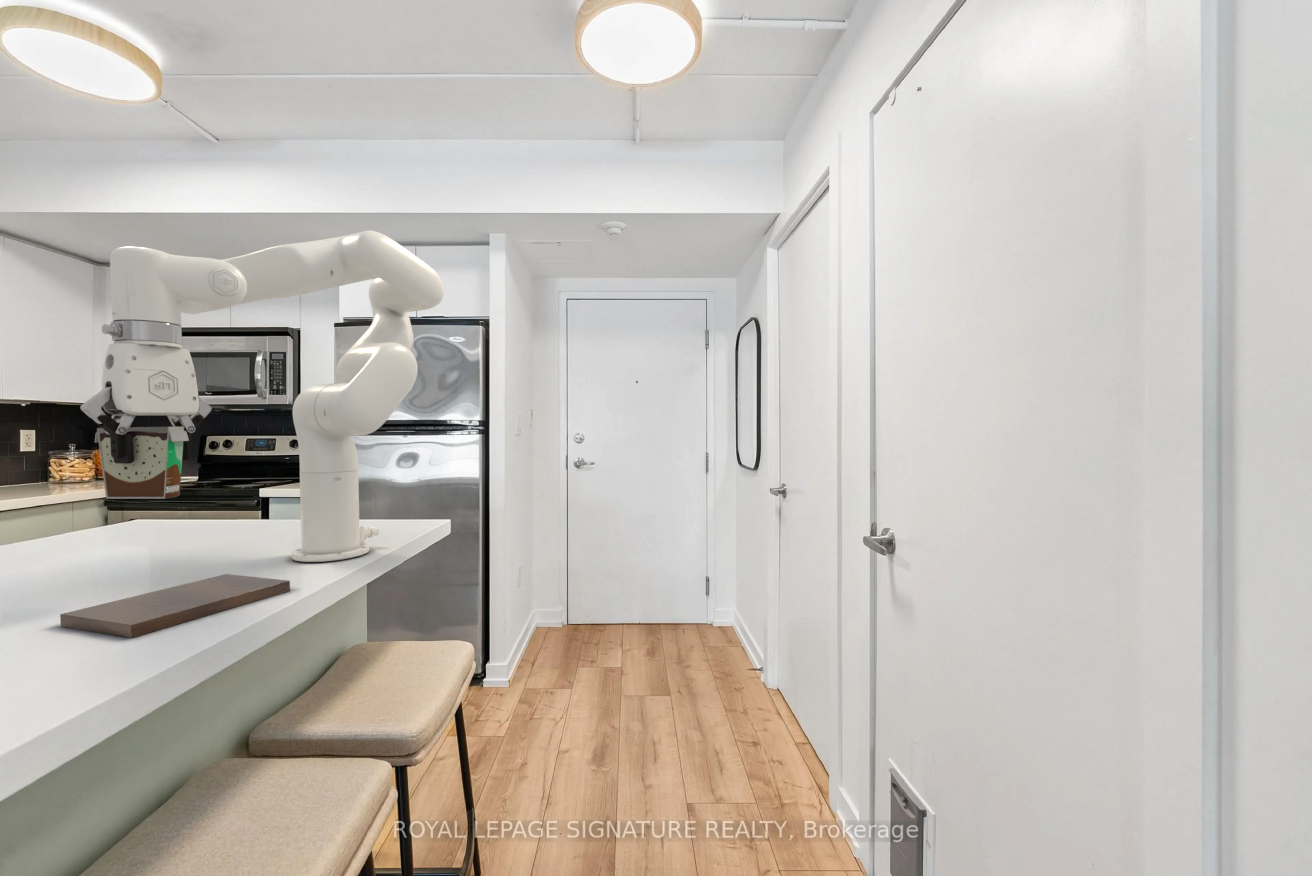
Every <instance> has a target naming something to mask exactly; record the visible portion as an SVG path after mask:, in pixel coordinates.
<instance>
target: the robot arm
mask: <svg viewBox="0 0 1312 876" xmlns="http://www.w3.org/2000/svg"><path fill="white" fill-rule="evenodd" d="M109 269H110V291H111V293H110V294H111V313H112V314H111V315H112V316H111V317H112V321H111V322H110V323H109V324H105V323H104V324H103V325H102V327H101V332H102V334H103V335H109V336H111V341H113V343H109V344H108V346H107V349H106V352H105V357H104V363H103V370H102V382H101V391H99V392H97V393H96V394H94V395H93V396H92V397H91V398H89V399H88V400H86V401H85V402H84V403H82V404H81V405H80V406H79V408H80V411H81V412H83V413H84V414H85V415H86V416H87V417H88V418H90V419H91V420H93V422H94V423H95V424H96V425H97V426H99V428H102V429H104V430H105V432H106V434H109V435H110V444H111V456H112V457H113V458H114V463H123V464H128V463H132V462H133V461H134V458H133V437H132V435H128V429H129V428H130V427H131V426H132V423H133V422H134V420H135V418H136V416H140V417H141V416H146V417H147V416H149V417H150V416H155V417H156V416H157V417H158V416H160V417H161V416H166V417H167V418H168V420H169V422H170V423H171V427H184V431H186V432H187V436H188V439H189V441H183V454H182V461H188V460H191V457H192V455H191V454H192V452H193V450H192V449H193V445H192V434H193V433H195V432H196V428H197V427H198V426H199V425H201V423H202V422H203V421H204V419H205V418H206V417H207V416H208V415H209V414H210V413H211V412H212V406H211V405H209V403H207V402H206V401H205V400H204V399H202V398H201V397H200V396H199V389H198V382H197V377H196V371H195V366H194V362H193V359H192V356H191V353H190V350H189V349H188V348H183V337H182V336H183V332H182V313H183V314H189V315H195V314H202V313H207V312H211V311H212V312H214V311H218V310H225V309H228V308H231V307H234V306H237V305H242V304H246V303H252V302H259V301H264V300H274V299H285V298H290V297H291V298H292V297H295V296H300V295H305V294H310V293H314V292H320V291H324V290H327V289H332V288H339V287H342V286H346V285H351V284H356V283H359V282H364V281H369V280H372V281H371V282H370V285H369V289H368V298H369V303H370V307H371V310H372V321H371V324H370V325H369V327H368V328H367V330H366V331H365V332H364V333H363V334H362V335H361V336H360V337H359V339H357V340H356V342H354V344H353V345H352V346H351V347H350V348H349V349H348V350H347V351H345V353H344V354H343V356H341V358H340V359H339V360H338V363H337V364H336V368H335V369H336V370H335V376H336V380H337V382H338V383H337V382H335V383H321V384H315V385H312V386H309V387H307V388H306V389H304V390H302V391H301V392H300V393H299V394H298V395H297V397H296V398H295V400H294V402H293V404H292V422H293V426H294V429H295V434H296V438H297V445H298V456H299V458H298V459H299V496H300V497H299V501H300V504H299V505H300V507H299V508H300V545H301V546H300V548H296V549H295V550H293V551H292V552H291V559H292V560H293V561H295V562H301V563H322V562H324V563H325V562H333V561H334V562H335V561H340V560H346V559H348V560H349V559H351V558H357V557H360V556H364V555H366V554H367V553H369V551H370V545H369V544H368V543H365V540H367V538H374V537H377V536H379V533H380V532H379V528H378V527H377V526H375V525H374V526H370V527H369V526H368V527H366V528H365V527H364V526H360V491H359V490H360V489H359V488H360V487H359V456H358V455H359V454H358V451H357V448H356V444H355V441H354V438H353V437H358V436H359V437H362V436H366V435H370V434H372V433H374V432H376V431H378V430H379V429H380V428H381V427H382V426H383V425H384V424H385V423H386V422H387V421H388V419H389V418H390V417H391V415H392V414H393V413H394V412H395V410H396V409H397V408H398V407H399V406H400V404H401V403H402V402H403V400H404V399H405V398H406V397H407V395H408V394H409V393H410V391H411V390H412V388H413V387H414V385H415V383H416V381H417V377H418V369H419V368H418V361H417V359H416V356H415V354H414V353H413V352H412V351H411V349H412V346H413V343H414V332H413V327H412V323H411V319H410V318H411V317H410V315H409V313H412V312H419V311H427V310H431V309H433V308H436V307H437V306H438V305H439V304H440V303H441V301H443V298H444V295H445V294H444V293H445V287H444V283H443V280H442V278H441V277H440V275H439V274H438V273H437V271H436V270H435V269H434V268H432V267H431V266H430V265H429V264H428V263H426V262H425V261H423V260H422V259H421V258H419V257H418V255H416V254H414V253H413V252H412V251H410V250H409V249H407V248H406V247H404V246H403V245H402V244H400V243H399V242H397V241H396V240H394V239H392V238H391V237H389V236H387V235H385V234H384V233H381V232H379V231H375V230H363V231H360V232H354V233H351V234H345V235H342V236H341V235H340V236H336V237H329V238H323V239H315V240H308V241H302V242H295V243H294V242H293V243H285V244H280V245H275V246H272V247H271V246H270V247H267V248H264V249H261V250H257V251H254V252H251V253H247V254H243V255H239V256H235V257H234V256H233V257H229V258H224V259H218V258H212V257H200V256H188V255H187V256H186V255H177V254H171V253H168V252H165V251H162V250H158V249H155V248H148V247H142V246H120V247H117V248H115V249H113V250H112V252H111V253H110V256H109ZM102 408H103V409H102ZM108 414H110V415H111V416H110V415H108Z"/></svg>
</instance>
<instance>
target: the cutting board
mask: <svg viewBox="0 0 1312 876" xmlns="http://www.w3.org/2000/svg"><path fill="white" fill-rule="evenodd" d="M290 591H291V581H290V580H289V579H288V580H287V579H280V578H279V579H277V578H270V577H269V578H268V577H258V576H250V575H249V576H248V575H242V574H241V575H240V574H231V573H224V574H220V575H217V576H216V575H215V576H212V577H209V578H204V579H199V580H196V581H192V582H187V583H184V584H179V585H175V586H171V587H167V588H162V589H159V590H155V591H150V592H146V593H142V594H138V595H133V596H130V597H126V598H121V599H117V600H113V601H109V602H104V603H101V604H96V605H92V606H88V607H84V608H80V609H76V610H71V611H68V612H64V613H60V616H59V619H60V622H59V623H60V627H63V628H70V629H75V630H81V631H86V632H87V631H88V632H93V633H99V634H105V635H111V636H118V637H124V638H136V637H139V636H143V635H146V634H149V633H152V632H153V633H154V632H157V631H160V630H163V629H167V628H171V627H173V626H176V625H180V624H183V623H186V622H190V621H193V620H196V619H200V618H204V617H206V616H209V615H213V614H217V613H220V612H224V611H226V610H231V609H233V608H236V607H241V606H244V605H246V604H250V603H253V602H257V601H259V600H260V601H261V600H263V599H266V598H271V597H273V596H277V595H280V594H284V593H286V592H290Z"/></svg>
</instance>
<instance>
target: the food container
mask: <svg viewBox="0 0 1312 876" xmlns="http://www.w3.org/2000/svg"><path fill="white" fill-rule="evenodd" d="M128 435H132V437H133V458H134V461H133V462H132V463H128V464H123V463H114V458H113V457H112V456H111V444H110V435H109V434H106V432H105V430H104V429H102V428H101V427H97V428H96V432H95V435H94V443H95V444H97V443H98V448H99V457H100V464H101V470H102V477H103V479H102V480H103V487H104V494H105V499H108V500H110V499H113V500H115V499H117V500H120V499H121V500H123V499H133V500H134V499H135V500H137V499H139V500H140V499H141V500H142V499H143V500H144V499H145V500H147V499H150V500H151V499H152V500H153V499H155V500H156V499H157V500H159V499H160V500H163V499H164V500H166V499H172V498H176V497H179V496H180V495H181V482H182V466H183V460H182V454H183V441H189V439H188V436H187V432H186V431H184V427H173V426H138V427H137V426H136V427H135V426H134V427H133V426H132V427H131V426H130V428H129V429H128Z"/></svg>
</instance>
